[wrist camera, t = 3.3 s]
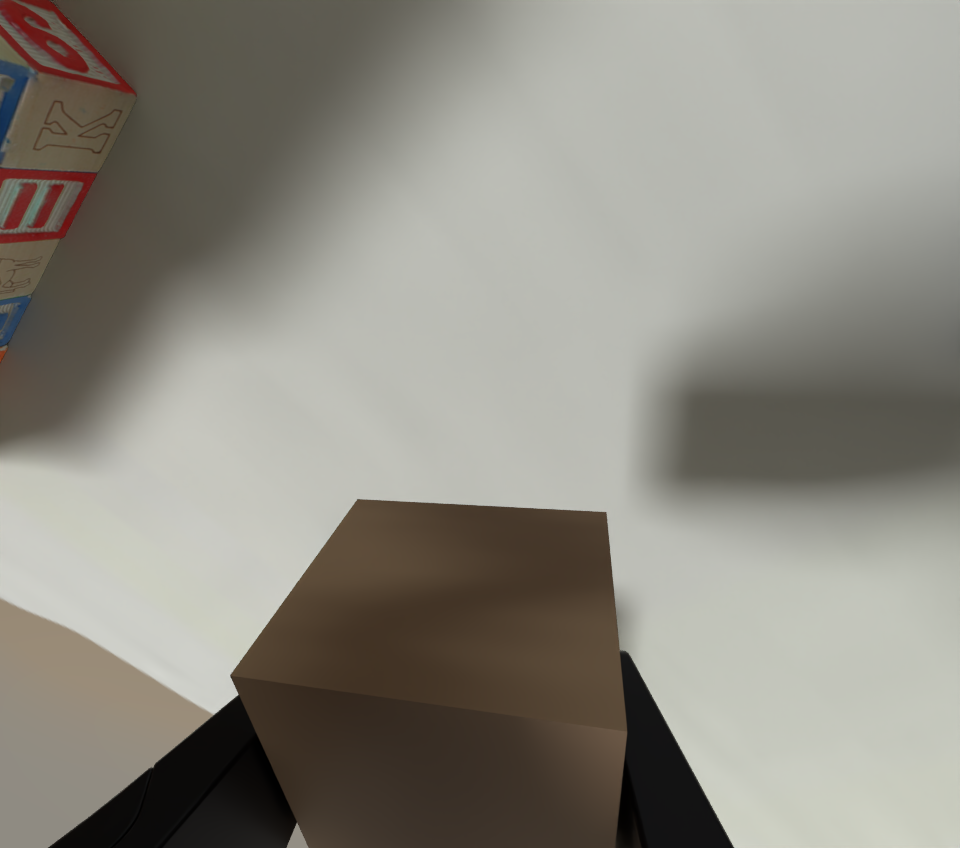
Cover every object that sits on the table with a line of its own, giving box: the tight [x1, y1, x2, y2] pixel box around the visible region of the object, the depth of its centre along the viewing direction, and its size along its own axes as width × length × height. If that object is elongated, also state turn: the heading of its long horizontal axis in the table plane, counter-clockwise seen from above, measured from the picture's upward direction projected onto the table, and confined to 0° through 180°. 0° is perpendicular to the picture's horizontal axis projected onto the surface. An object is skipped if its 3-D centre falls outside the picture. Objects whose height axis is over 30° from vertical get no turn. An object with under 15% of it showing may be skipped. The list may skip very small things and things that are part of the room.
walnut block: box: [230, 499, 627, 848], centre depth 8 cm, size 5×5×4 cm
